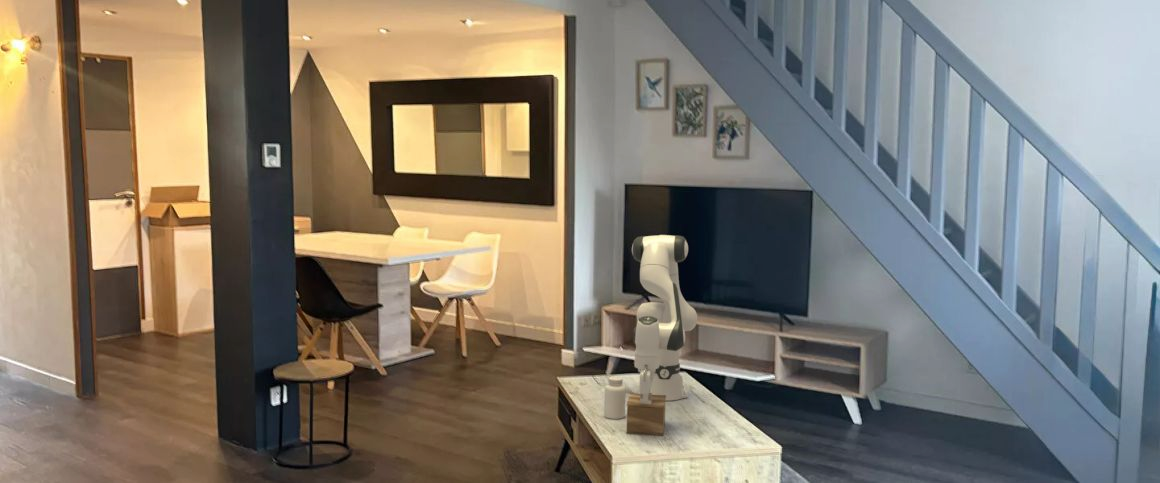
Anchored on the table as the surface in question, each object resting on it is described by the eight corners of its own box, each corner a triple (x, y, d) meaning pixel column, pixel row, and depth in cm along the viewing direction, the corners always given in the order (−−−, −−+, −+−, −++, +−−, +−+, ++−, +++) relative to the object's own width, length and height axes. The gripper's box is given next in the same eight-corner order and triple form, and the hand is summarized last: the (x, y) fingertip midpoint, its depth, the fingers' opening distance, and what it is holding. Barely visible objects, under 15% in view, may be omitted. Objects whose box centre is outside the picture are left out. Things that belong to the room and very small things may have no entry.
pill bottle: (623, 420, 344) (624, 381, 342) (602, 418, 346) (603, 380, 344) (626, 414, 352) (627, 376, 350) (605, 412, 353) (606, 374, 352)
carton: (630, 422, 342) (630, 396, 341) (664, 424, 340) (665, 397, 339) (626, 433, 328) (627, 406, 327) (662, 435, 326) (663, 408, 325)
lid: (630, 395, 341) (630, 384, 341) (666, 397, 340) (666, 385, 339) (626, 405, 327) (627, 394, 327) (664, 408, 325) (664, 396, 325)
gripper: (653, 369, 316) (652, 408, 318) (657, 356, 336) (656, 393, 338) (635, 368, 317) (634, 407, 319) (640, 355, 337) (639, 392, 339)
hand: (646, 399), depth 328 cm, fingers closed on lid, 2 cm apart
